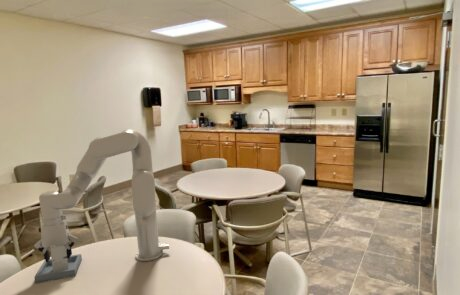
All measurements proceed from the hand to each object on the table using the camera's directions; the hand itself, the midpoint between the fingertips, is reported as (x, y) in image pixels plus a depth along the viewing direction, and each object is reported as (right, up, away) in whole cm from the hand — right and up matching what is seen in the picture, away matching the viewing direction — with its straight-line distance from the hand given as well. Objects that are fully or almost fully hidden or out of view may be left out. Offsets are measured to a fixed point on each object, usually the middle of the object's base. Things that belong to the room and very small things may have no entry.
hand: (58, 258), depth 130 cm
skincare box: (+1, -5, +1) cm, 5 cm away
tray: (0, -6, +1) cm, 6 cm away
